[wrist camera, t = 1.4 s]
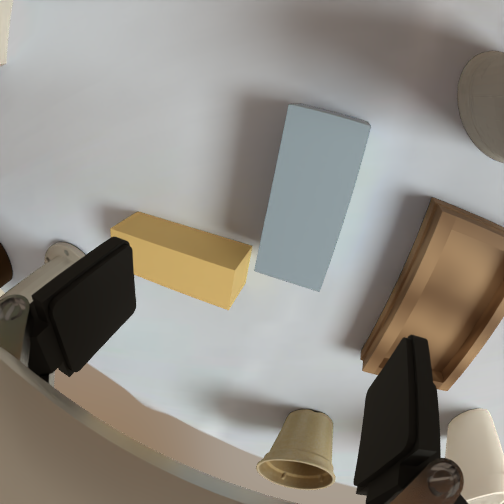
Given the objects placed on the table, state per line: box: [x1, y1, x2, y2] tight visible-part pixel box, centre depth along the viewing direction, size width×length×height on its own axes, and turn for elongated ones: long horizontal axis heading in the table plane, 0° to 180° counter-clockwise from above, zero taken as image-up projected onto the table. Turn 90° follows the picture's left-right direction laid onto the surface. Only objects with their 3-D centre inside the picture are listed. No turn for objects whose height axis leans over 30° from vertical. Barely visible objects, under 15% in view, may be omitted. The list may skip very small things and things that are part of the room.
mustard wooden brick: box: [110, 212, 252, 310], centre depth 28 cm, size 4×12×4 cm, turn 80°
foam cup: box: [445, 408, 504, 504], centre depth 24 cm, size 10×9×13 cm
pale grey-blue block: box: [254, 104, 371, 292], centre depth 22 cm, size 12×5×4 cm, turn 169°
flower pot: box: [256, 409, 335, 490], centre depth 33 cm, size 9×9×9 cm
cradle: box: [360, 197, 504, 391], centre depth 23 cm, size 16×10×3 cm, turn 170°
